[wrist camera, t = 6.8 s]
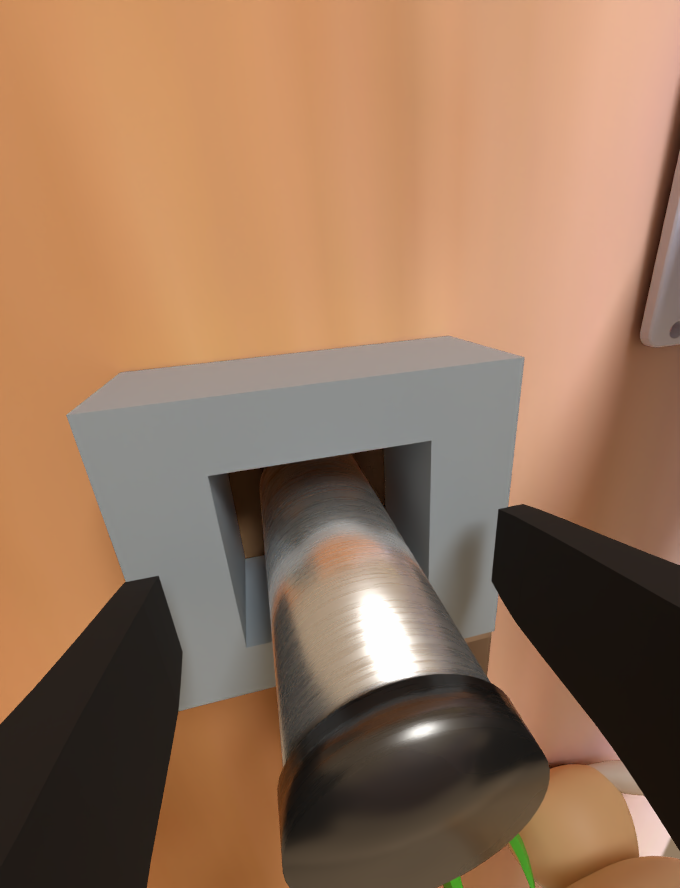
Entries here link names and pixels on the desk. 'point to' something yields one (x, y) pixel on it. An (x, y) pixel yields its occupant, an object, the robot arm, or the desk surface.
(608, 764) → the kitten
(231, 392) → the dock
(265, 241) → the desk surface
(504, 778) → the pin
